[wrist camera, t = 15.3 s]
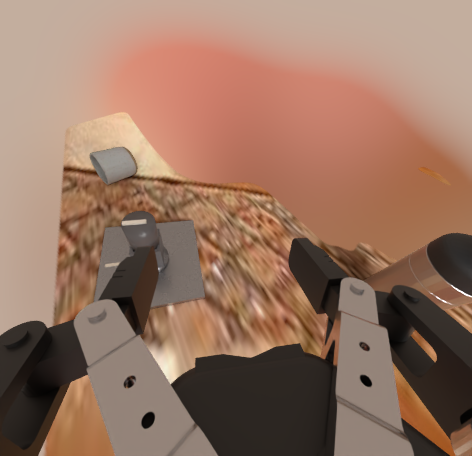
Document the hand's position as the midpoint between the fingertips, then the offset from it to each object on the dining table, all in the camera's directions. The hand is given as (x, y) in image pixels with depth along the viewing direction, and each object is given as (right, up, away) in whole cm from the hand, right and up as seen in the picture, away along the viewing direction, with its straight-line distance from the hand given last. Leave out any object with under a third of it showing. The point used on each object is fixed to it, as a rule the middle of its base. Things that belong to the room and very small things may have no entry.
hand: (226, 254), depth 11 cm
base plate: (-16, -5, +28) cm, 33 cm away
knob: (-16, -4, +26) cm, 31 cm away
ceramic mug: (-32, +16, +41) cm, 54 cm away
